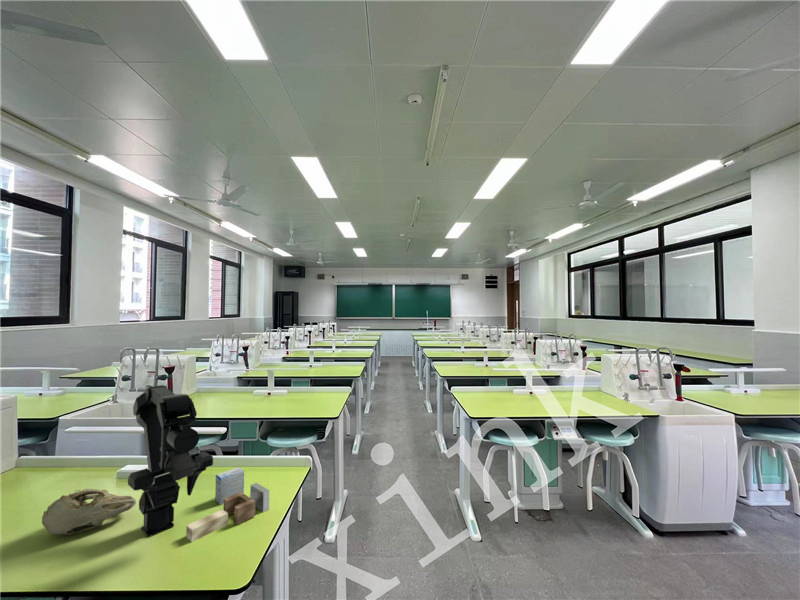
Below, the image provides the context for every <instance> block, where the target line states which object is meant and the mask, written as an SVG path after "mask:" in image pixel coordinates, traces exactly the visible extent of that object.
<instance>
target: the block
mask: <svg viewBox="0 0 800 600" xmlns="http://www.w3.org/2000/svg"><path fill="white" fill-rule="evenodd" d="M228 525H229V515H228V513H227V512H226V511H224V510H223V509H220V510H217V511H216V512H214V513H211V514H209V515H207V516H205V517H203V518H202V517H201V518H200V519H198V520H196V521H193V522H191V523H189V524H187V525H186V530H185V531H186V535H185V537H186V539H188V540H189V542H191V543H193V542H195V541H197V540H199V539H202V538H203V537H205V536H207V535H209V534H212V533H213V532H215V531H218V530H219V529H221V528H224V527H225V526H228Z"/></svg>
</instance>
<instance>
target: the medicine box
mask: <svg viewBox="0 0 800 600" xmlns="http://www.w3.org/2000/svg"><path fill="white" fill-rule="evenodd" d="M214 491H215V495H214V496H215V498H214V499H215V501H216V502H217V503H218V504H219V505H224V499H225V498H228V497H230V496H232V495H235V494H237V493H240V492H242V493H243V494H245V470H244V469H242V468H240V467H235V468H231V469H229V470H228V469H227V470H226V471H223V472H220V473H217V474H216V475H215V490H214Z"/></svg>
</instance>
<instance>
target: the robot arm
mask: <svg viewBox="0 0 800 600" xmlns="http://www.w3.org/2000/svg"><path fill="white" fill-rule="evenodd" d="M132 409H133V410H132V412H133V416H135V418H136V423H137V424H138V425H139V426H141V427H142V428H143V432H144V433H143V434H144V440H145V441H144V443H145V448H146V449H145V450H146V460H147V468H144V469H141V470H138V471H134V472H133V471H132V472H130V474H129V476H128V477H127V485H128V486H129V487H130V488H131V489H132V490H133V491H140V490H141V491H143V492H142V493H141V496H140V498H139V501H138V509H139V511H140V513H141V515H143V525H141V527H140V529H141V530H142V531H143V533H144V534H145V535H146V536H147V537H148V538H149V537H152V536H155V535H157V534H159V533H162V532H163V531H166V530H169V529H170V528H173V527H174V526H175V524H174V520H175V507H174V506H173V505H174V504H178V500H179V493H180V489H181V486H180V485H179V483H178V481H180V480H181V479H184V478H186V493H187V496H191V495H192V492H193V490H194V488H195V485H196V482H197V480H198V478H199V477H200V475H201V473H203V472H204V471H206V470H207V468H208V467H212V466H213V465H214V456H213V455H212V454H210V453H208V452H206V451H200V452H198V453H194V454H193V453H192V454H190V453H189V452H190V451H192V450H194V449H195V447H197V445H198V444H199V442H200V435H199V432H198V431H197V430H195V429H194V428H192V424H191V422H196V421H197V418H196V417H197V415H198V414H197V413H198V412H197V410H196V406H195V403H194V401H193V399H192V398H191V397H190V396H189V395H188V394H185V393H181V394H180V393H179V394H175V393H174V392H173V391H171V390H170V389H168V387H167V385H164V384H162V385H155V386H149V387H146V388H145V390H144V392H143V393H142V394H140V395H139V396H137V397H136V399H135V401H134V402H133V408H132Z"/></svg>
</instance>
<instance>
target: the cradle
mask: <svg viewBox="0 0 800 600" xmlns="http://www.w3.org/2000/svg"><path fill="white" fill-rule="evenodd" d="M223 510H224V511H226V512H227V513H228V516H230V515H232V514H234V516H233V522H234V523H235V524H236V525H240V524H241V523H243V522H246V521H248V520H250V519H252V518H254V517H256V507H255V501H254V500H253V499H251V498H250V496H248V495H246V494H245V493H244V494H243V493H242V492H240V493H237V494H235V495H232V496H230V497H228V498H225V499H224V503H223Z"/></svg>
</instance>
